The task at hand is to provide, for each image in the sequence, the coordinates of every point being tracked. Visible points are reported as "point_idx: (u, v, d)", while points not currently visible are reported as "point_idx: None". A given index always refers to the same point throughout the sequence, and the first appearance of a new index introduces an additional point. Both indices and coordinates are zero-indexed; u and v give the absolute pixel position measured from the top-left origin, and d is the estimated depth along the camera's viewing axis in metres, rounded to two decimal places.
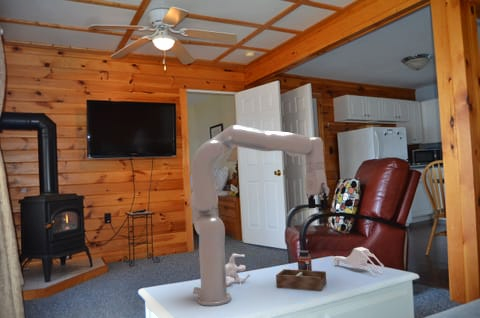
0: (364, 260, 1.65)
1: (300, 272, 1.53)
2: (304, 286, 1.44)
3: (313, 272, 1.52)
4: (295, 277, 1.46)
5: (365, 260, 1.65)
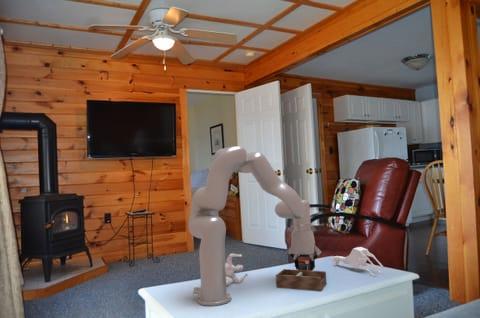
0: (363, 260, 1.65)
1: (300, 272, 1.53)
2: (304, 286, 1.44)
3: (313, 272, 1.52)
4: (295, 277, 1.46)
5: (364, 260, 1.66)
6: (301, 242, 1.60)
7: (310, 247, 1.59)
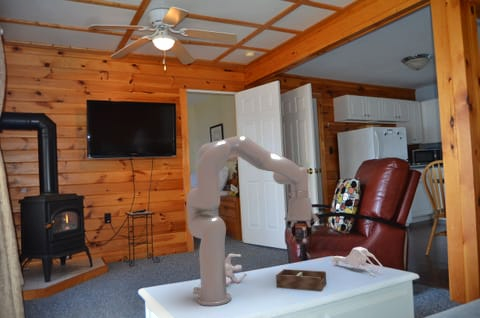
0: (363, 260, 1.65)
1: (300, 272, 1.53)
2: (304, 286, 1.44)
3: (313, 272, 1.52)
4: (295, 277, 1.46)
5: (364, 260, 1.66)
6: (298, 208, 1.61)
7: (307, 213, 1.59)
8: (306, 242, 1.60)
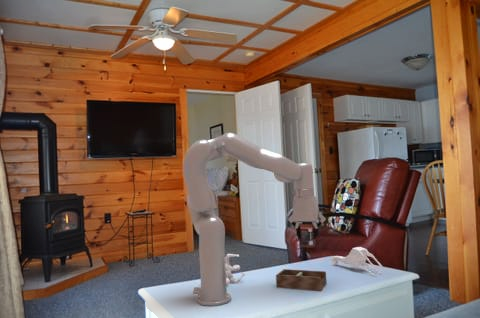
0: (362, 260, 1.66)
1: (300, 272, 1.53)
2: (304, 286, 1.44)
3: (313, 272, 1.52)
4: (295, 277, 1.46)
5: (363, 260, 1.66)
6: (303, 208, 1.47)
7: (313, 213, 1.46)
8: (313, 245, 1.46)
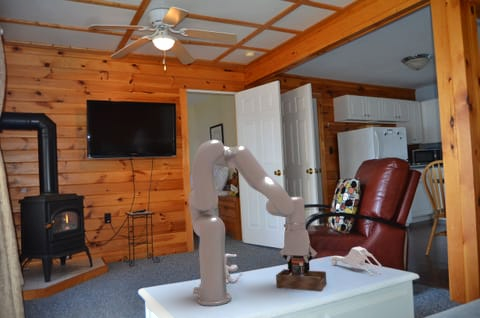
0: (362, 260, 1.66)
1: None
2: (304, 286, 1.44)
3: (313, 272, 1.52)
4: (295, 277, 1.46)
5: (363, 260, 1.66)
6: (295, 242, 1.48)
7: (304, 248, 1.47)
8: None
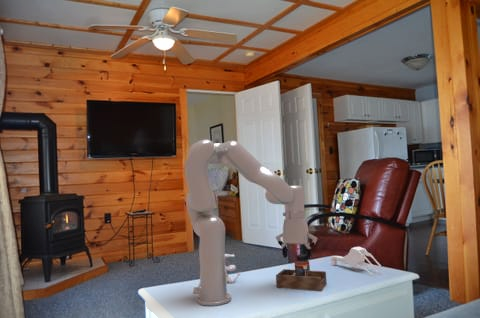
0: (361, 259, 1.66)
1: None
2: (304, 286, 1.44)
3: (313, 272, 1.52)
4: (295, 277, 1.46)
5: (362, 259, 1.67)
6: (293, 230, 1.48)
7: (303, 236, 1.47)
8: None
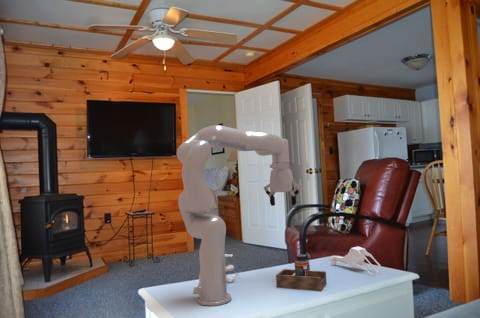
0: (361, 259, 1.66)
1: None
2: (304, 286, 1.44)
3: (313, 272, 1.52)
4: (295, 277, 1.46)
5: (362, 259, 1.67)
6: (279, 180, 1.61)
7: (288, 184, 1.59)
8: None
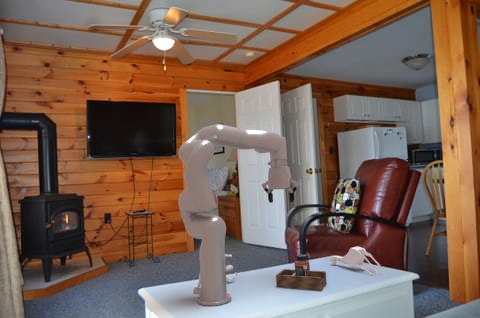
0: (360, 259, 1.67)
1: None
2: (304, 286, 1.44)
3: (313, 272, 1.52)
4: (295, 277, 1.46)
5: (361, 259, 1.67)
6: (277, 177, 1.63)
7: (286, 181, 1.61)
8: None
